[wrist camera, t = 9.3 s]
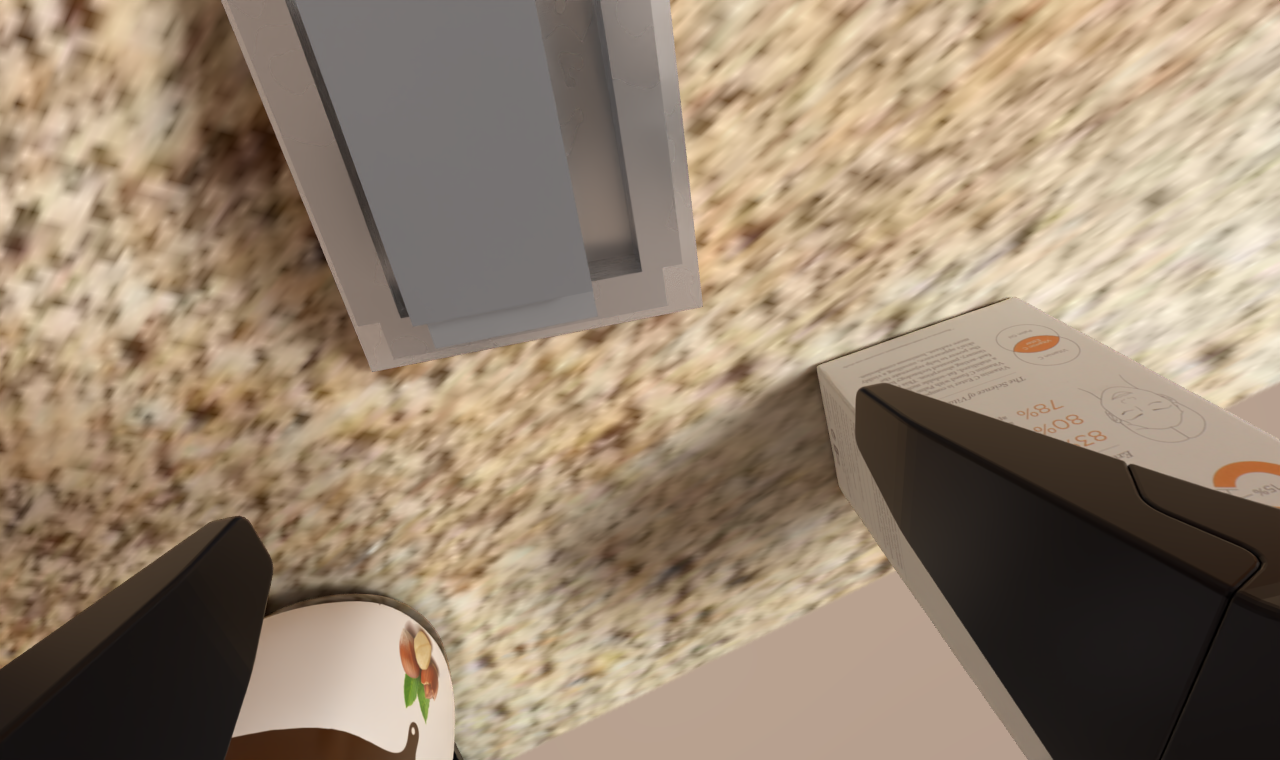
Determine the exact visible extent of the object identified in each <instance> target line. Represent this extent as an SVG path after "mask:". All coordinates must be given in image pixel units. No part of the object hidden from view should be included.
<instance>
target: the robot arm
mask: <svg viewBox="0 0 1280 760" xmlns="http://www.w3.org/2000/svg"><path fill="white" fill-rule="evenodd" d="M855 439H856V443H857V446H858V449H859V451H860V453H861V455H862V457H863V459H864V461H865V463H866V465H867V467H868V469H869V471H870V473H871V475H872V477H873V479H874V481H875V483H876V484H877V486H878V488H879V490H880V492H881V494H882V496H883V498H884V500H885V502H886V504H887V506H888V508H889V510H890V512H891V514H892V516H893V518H894V520H895V521H896V523H897V525H898V527H899V529H900V531H901V532H902V534H903V535H904V537H905V539H906V540H907V542H908V543H909V545H910V546H911V548H912V549H913V551H914V552H915V554H916V555H917V557H918V558H919V560H920V561H921V563H922V564H923V566H924V567H925V569H926V570H927V572H928V573H929V575H930V576H931V578H932V579H933V581H934V582H935V584H936V585H937V587H938V588H939V590H940V591H941V593H942V594H943V596H944V597H945V599H946V600H947V602H948V603H949V605H950V606H951V608H952V609H953V611H954V612H955V614H956V615H957V617H958V618H959V620H960V621H961V623H962V624H963V626H964V627H965V629H966V630H967V632H968V633H969V635H970V636H971V638H972V639H973V641H974V642H975V644H976V645H977V647H978V648H979V650H980V651H981V653H982V654H983V656H984V657H985V659H986V660H987V662H988V663H989V665H990V666H991V668H992V669H993V671H994V672H995V674H996V675H997V677H998V678H999V680H1000V681H1001V683H1002V684H1003V686H1004V687H1005V689H1006V690H1007V692H1008V693H1009V695H1010V696H1011V698H1012V699H1013V701H1014V702H1015V704H1016V705H1017V707H1018V708H1019V710H1020V711H1021V713H1022V714H1023V716H1024V717H1025V719H1026V720H1027V722H1028V723H1029V725H1030V726H1031V728H1032V729H1033V731H1034V732H1035V734H1036V735H1037V737H1038V738H1039V740H1040V741H1041V743H1042V744H1043V746H1044V747H1045V749H1046V750H1047V752H1048V753H1049V755H1050V756H1051V758H1052V759H1053V760H1280V508H1277V507H1273V506H1270V505H1266V504H1263V503H1259V502H1256V501H1252V500H1249V499H1245V498H1242V497H1238V496H1235V495H1231V494H1228V493H1224V492H1221V491H1217V490H1214V489H1210V488H1207V487H1204V486H1201V485H1198V484H1194V483H1191V482H1188V481H1185V480H1182V479H1179V478H1175V477H1172V476H1169V475H1166V474H1163V473H1160V472H1157V471H1154V470H1151V469H1148V468H1145V467H1142V466H1139V465H1136V464H1129V465H1128V466H1127V464H1126V462H1125V461H1123V460H1120V459H1117V458H1114V457H1111V456H1108V455H1105V454H1102V453H1099V452H1096V451H1093V450H1090V449H1087V448H1083V447H1080V446H1077V445H1074V444H1071V443H1068V442H1065V441H1062V440H1059V439H1056V438H1053V437H1050V436H1047V435H1044V434H1041V433H1038V432H1035V431H1032V430H1029V429H1026V428H1023V427H1020V426H1017V425H1014V424H1010V423H1007V422H1004V421H1001V420H998V419H995V418H992V417H989V416H986V415H983V414H980V413H977V412H974V411H971V410H968V409H965V408H962V407H959V406H956V405H953V404H950V403H947V402H944V401H941V400H938V399H934V398H931V397H928V396H925V395H922V394H919V393H916V392H913V391H910V390H907V389H904V388H901V387H898V386H895V385H892V384H889V383H878V384H873V385H868V386H864V387H861V388H859V390H858V391H857V393H856V399H855ZM272 575H273V564H272V560H271V557H270V555H269V553H268V552H267V550H266V548H265V546H264V545H263V543H262V541H261V540H260V538H259V536H258V535H257V533H256V531H255V530H254V528H253V526H252V524H251V523H250V522H249V520H247V519H246V518H244V517H241V516H235V517H230V518H225V519H220V520H216V521H212V522H210V523H208V524H207V525H205V526H204V527H202V528H201V529H199V530H198V531H197V532H195V533H194V534H192V535H191V536H189V537H188V538H187V539H185V540H184V541H182V542H181V543H179V544H178V545H177V546H175V547H174V548H172V549H171V550H170V551H168V552H167V553H165V554H164V555H162V556H161V557H160V558H158V559H157V560H155V561H154V562H152V563H151V564H150V565H148V566H147V567H145V568H144V569H142V570H141V571H140V572H138V573H137V574H135V575H134V576H133V577H131V578H130V579H128V580H127V581H125V582H124V583H123V584H121V585H120V586H118V587H117V588H115V589H114V590H113V591H111V592H110V593H108V594H107V595H105V596H104V597H103V598H101V599H100V600H98V601H97V602H96V603H94V604H93V605H91V606H90V607H88V608H87V609H86V610H84V611H83V612H81V613H80V614H78V615H77V616H76V617H74V618H73V619H71V620H70V621H68V622H67V623H66V624H64V625H63V626H61V627H60V628H59V629H57V630H56V631H54V632H53V633H51V634H50V635H49V636H47V637H46V638H44V639H43V640H41V641H40V642H39V643H37V644H36V645H34V646H33V647H32V648H30V649H29V650H27V651H26V652H24V653H23V654H22V655H20V656H19V657H17V658H16V659H14V660H13V661H12V662H10V663H9V664H7V665H6V666H4V667H3V668H2V669H0V760H225V757H226V754H227V751H228V748H229V744H230V741H231V738H232V735H233V732H234V729H235V726H236V723H237V720H238V717H239V713H240V710H241V707H242V704H243V701H244V698H245V695H246V692H247V688H248V685H249V681H250V678H251V675H252V671H253V666H254V662H255V658H256V654H257V649H258V644H259V639H260V634H261V629H262V624H263V620H264V615H265V610H266V605H267V600H268V595H269V590H270V585H271V580H272ZM453 760H463V758H462V756H461V754H460V752H459V750H458V748H457V746H456V744H455V742H454V753H453Z"/></svg>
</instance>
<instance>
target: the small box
mask: <svg viewBox="0 0 1280 760" xmlns="http://www.w3.org/2000/svg"><path fill="white" fill-rule="evenodd" d="M817 374H818V379H819V385H820V389H821V394H822V400H823V405H824V410H825V415H826V420H827V425H828V430H829V436H830V440H831V446H832V451H833V456H834V462H835V467H836V473H837V478H838V484H839V488H840V489H841V491H842V493H843V494H844V495H845V497H846V499H847V500H848V501H849V503H850V504H851V505H852V507H853V509H854V510H855V512H856V513H857V514H858V516H859V517H860V519H861V520H862V522H863V523H864V524H865V526H866V527H867V529H868V530H869V532H870V533H871V535H872V536H873V538H874V539H875V541H876V542H877V544H878V545H879V547H880V548H881V550H882V551H883V553H884V554H885V555H886V557H887V558H888V560H889V561H890V563H891V564H892V566H893V567H894V569H895V570H896V571H897V573H898V574H899V575H900V577H901V578H902V580H903V581H904V583H905V584H906V585H907V587H908V588H909V590H910V591H911V593H912V594H913V596H914V597H915V599H916V600H917V601H918V603H919V604H920V606H921V607H922V608H923V610H924V611H925V613H926V614H927V615H928V617H929V618H930V620H931V621H932V623H933V624H934V626H935V627H936V628H937V630H938V631H939V633H940V634H941V636H942V638H943V639H944V640H945V642H946V643H947V644H948V646H949V647H950V649H951V650H952V652H953V653H954V655H955V656H956V658H957V659H958V661H959V662H960V663H961V665H962V666H963V668H964V669H965V671H966V672H967V673H968V675H969V676H970V678H971V679H972V680H973V682H974V683H975V684H976V686H977V687H978V689H979V690H980V692H981V693H982V695H983V696H984V698H985V699H986V700H987V702H988V703H989V705H990V706H991V708H992V709H993V711H994V712H995V713H996V715H997V716H998V717H999V719H1000V720H1001V722H1002V723H1003V724H1004V726H1005V727H1006V729H1007V730H1008V732H1009V733H1010V735H1011V736H1012V738H1013V739H1014V741H1015V742H1016V744H1017V745H1018V746H1019V748H1020V749H1021V751H1022V752H1023V754H1024V755H1025V756H1026V758H1027V759H1028V760H1053V759H1052V758H1051V756H1050V755H1049V753H1048V752H1047V750H1046V749H1045V747H1044V746H1043V744H1042V743H1041V741H1040V740H1039V738H1038V737H1037V735H1036V734H1035V732H1034V731H1033V729H1032V728H1031V726H1030V725H1029V723H1028V722H1027V720H1026V719H1025V717H1024V716H1023V714H1022V713H1021V711H1020V710H1019V708H1018V707H1017V705H1016V704H1015V702H1014V701H1013V699H1012V698H1011V696H1010V695H1009V693H1008V692H1007V690H1006V689H1005V687H1004V686H1003V684H1002V683H1001V681H1000V680H999V678H998V677H997V675H996V674H995V672H994V671H993V669H992V668H991V666H990V665H989V663H988V662H987V660H986V659H985V657H984V656H983V654H982V653H981V651H980V650H979V648H978V647H977V645H976V644H975V642H974V641H973V639H972V638H971V636H970V635H969V633H968V632H967V630H966V629H965V627H964V626H963V624H962V623H961V621H960V620H959V618H958V617H957V615H956V614H955V612H954V611H953V609H952V608H951V606H950V605H949V603H948V602H947V600H946V599H945V597H944V596H943V594H942V593H941V591H940V590H939V588H938V587H937V585H936V584H935V582H934V581H933V579H932V578H931V576H930V575H929V573H928V572H927V570H926V569H925V567H924V566H923V564H922V563H921V561H920V560H919V558H918V557H917V555H916V554H915V552H914V551H913V549H912V548H911V546H910V545H909V543H908V542H907V540H906V539H905V537H904V535H903V534H902V532H901V531H900V529H899V527H898V525H897V523H896V521H895V520H894V518H893V516H892V514H891V512H890V510H889V508H888V506H887V504H886V502H885V500H884V498H883V496H882V494H881V492H880V490H879V488H878V486H877V484H876V483H875V481H874V479H873V477H872V475H871V473H870V471H869V469H868V467H867V465H866V463H865V461H864V459H863V457H862V455H861V453H860V451H859V449H858V446H857V443H856V439H855V399H856V393H857V391H858V390H859V388H861V387H864V386H868V385H873V384H878V383H889V384H892V385H895V386H898V387H901V388H904V389H907V390H910V391H913V392H916V393H919V394H922V395H925V396H928V397H931V398H934V399H938V400H941V401H944V402H947V403H950V404H953V405H956V406H959V407H962V408H965V409H968V410H971V411H974V412H977V413H980V414H983V415H986V416H989V417H992V418H995V419H998V420H1001V421H1004V422H1007V423H1010V424H1014V425H1017V426H1020V427H1023V428H1026V429H1029V430H1032V431H1035V432H1038V433H1041V434H1044V435H1047V436H1050V437H1053V438H1056V439H1059V440H1062V441H1065V442H1068V443H1071V444H1074V445H1077V446H1080V447H1083V448H1087V449H1090V450H1093V451H1096V452H1099V453H1102V454H1105V455H1108V456H1111V457H1114V458H1117V459H1120V460H1123V461H1125V462H1126V464H1127V466H1128V465H1129V464H1136V465H1139V466H1142V467H1145V468H1148V469H1151V470H1154V471H1157V472H1160V473H1163V474H1166V475H1169V476H1172V477H1175V478H1179V479H1182V480H1185V481H1188V482H1191V483H1194V484H1198V485H1201V486H1204V487H1207V488H1210V489H1214V490H1217V491H1221V492H1224V493H1228V494H1231V495H1235V496H1238V497H1242V498H1245V499H1249V500H1252V501H1256V502H1259V503H1263V504H1266V505H1270V506H1273V507H1277V508H1280V440H1279V439H1278V438H1276V437H1274V436H1272V435H1270V434H1268V433H1267V432H1265V431H1263V430H1261V429H1259V428H1258V427H1256V426H1254V425H1252V424H1250V423H1248V422H1247V421H1245V420H1243V419H1241V418H1239V417H1237V416H1236V415H1234V414H1232V413H1230V412H1228V411H1226V410H1225V409H1223V408H1221V407H1219V406H1217V405H1215V404H1213V403H1211V402H1210V401H1208V400H1206V399H1204V398H1202V397H1200V396H1199V395H1197V394H1195V393H1193V392H1191V391H1189V390H1187V389H1185V388H1184V387H1182V386H1180V385H1178V384H1176V383H1174V382H1172V381H1171V380H1169V379H1167V378H1165V377H1163V376H1161V375H1160V374H1158V373H1156V372H1154V371H1152V370H1150V369H1149V368H1147V367H1145V366H1143V365H1141V364H1139V363H1138V362H1136V361H1134V360H1132V359H1130V358H1128V357H1127V356H1125V355H1123V354H1121V353H1119V352H1117V351H1115V350H1113V349H1112V348H1110V347H1108V346H1106V345H1104V344H1102V343H1101V342H1099V341H1097V340H1095V339H1093V338H1091V337H1089V336H1088V335H1086V334H1084V333H1082V332H1080V331H1078V330H1076V329H1075V328H1073V327H1071V326H1069V325H1067V324H1065V323H1064V322H1062V321H1060V320H1058V319H1056V318H1054V317H1052V316H1051V315H1049V314H1047V313H1045V312H1043V311H1041V310H1039V309H1038V308H1036V307H1034V306H1032V305H1030V304H1028V303H1027V302H1025V301H1023V300H1021V299H1019V298H1017V297H1012V298H1009V299H1006V300H1004V301H1001V302H998V303H996V304H993V305H990V306H987V307H984V308H981V309H978V310H975V311H972V312H969V313H966V314H963V315H961V316H958V317H955V318H952V319H949V320H946V321H943V322H940V323H938V324H935V325H932V326H929V327H926V328H923V329H920V330H917V331H914V332H911V333H909V334H906V335H903V336H900V337H897V338H894V339H892V340H889V341H886V342H883V343H880V344H878V345H875V346H872V347H869V348H866V349H863V350H861V351H858V352H855V353H852V354H849V355H846V356H843V357H840V358H838V359H835V360H832V361H829V362H826V363H823V364H820V365H818V366H817Z"/></svg>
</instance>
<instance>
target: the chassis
mask: <svg viewBox="0 0 1280 760" xmlns="http://www.w3.org/2000/svg"><path fill="white" fill-rule="evenodd" d="M221 2H222V4H223V6H224V9H225V11H226V14H227V16H228V19H229V21H230V24H231V26H232V29H233V31H234V34H235V36H236V38H237V41H238V43H239V46H240V48H241V51H242V53H243V56H244V58H245V61H246V63H247V66H248V68H249V70H250V73H251V75H252V78H253V80H254V83H255V85H256V88H257V90H258V93H259V95H260V98H261V100H262V102H263V105H264V107H265V110H266V112H267V115H268V117H269V120H270V122H271V125H272V127H273V130H274V132H275V134H276V137H277V139H278V142H279V144H280V147H281V149H282V152H283V154H284V157H285V159H286V162H287V164H288V166H289V169H290V171H291V174H292V176H293V179H294V181H295V184H296V186H297V189H298V191H299V194H300V196H301V198H302V201H303V203H304V206H305V208H306V211H307V213H308V216H309V218H310V221H311V223H312V226H313V228H314V230H315V233H316V235H317V238H318V240H319V243H320V245H321V248H322V250H323V253H324V255H325V258H326V260H327V262H328V265H329V267H330V270H331V272H332V275H333V277H334V280H335V282H336V285H337V287H338V290H339V292H340V294H341V297H342V299H343V302H344V304H345V307H346V309H347V312H348V314H349V317H350V319H351V322H352V324H353V326H354V329H355V331H356V334H357V336H358V339H359V341H360V344H361V346H362V349H363V351H364V354H365V356H366V358H367V361H368V363H369V366H370V368H371V371H372V372H375V371H380V370H385V369H390V368H395V367H400V366H405V365H410V364H415V363H420V362H425V361H430V360H435V359H441V358H446V357H451V356H456V355H461V354H466V353H471V352H476V351H481V350H486V349H491V348H496V347H501V346H506V345H512V344H517V343H522V342H527V341H532V340H537V339H542V338H547V337H552V336H557V335H562V334H567V333H572V332H577V331H583V330H588V329H593V328H598V327H603V326H608V325H613V324H618V323H623V322H628V321H633V320H638V319H643V318H648V317H654V316H659V315H664V314H669V313H674V312H679V311H684V310H689V309H694V308H699V307H703V304H702V295H701V285H700V276H699V267H698V258H697V249H696V239H695V230H694V221H693V212H692V202H691V193H690V184H689V175H688V165H687V156H686V147H685V138H684V129H683V119H682V110H681V101H680V92H679V82H678V73H677V64H676V55H675V45H674V36H673V27H672V18H671V8H670V0H535V5H536V10H537V15H538V20H539V25H540V30H541V35H542V40H543V45H544V50H545V55H546V59H547V64H548V69H549V74H550V79H551V84H552V89H553V94H554V99H555V104H556V109H557V114H558V119H559V124H560V129H561V134H562V139H563V144H564V149H565V154H566V159H567V163H568V168H569V173H570V178H571V183H572V188H573V193H574V198H575V203H576V208H577V213H578V218H579V223H580V228H581V233H582V238H583V243H584V248H585V253H586V258H587V263H588V267H589V272H590V277H591V282H592V287H593V294H594V299H595V304H596V309H597V314H598V317H593V318H588V319H583V320H578V321H573V322H568V323H563V324H558V325H553V326H548V327H543V328H538V329H533V330H528V331H523V332H518V333H513V334H508V335H503V336H498V337H493V338H488V339H483V340H478V341H473V342H468V343H463V344H458V345H453V346H448V347H443V348H438V349H436V348H435V346H434V343H433V340H432V337H431V334H430V331H429V328H428V325H427V324H425V325H420V326H415V327H413V326H412V323H411V320H410V317H409V315H408V312H407V309H406V306H405V303H404V301H403V298H402V295H401V292H400V290H399V287H398V284H397V281H396V279H395V276H394V273H393V270H392V267H391V265H390V262H389V259H388V256H387V254H386V251H385V248H384V245H383V243H382V240H381V237H380V234H379V231H378V229H377V226H376V223H375V220H374V218H373V215H372V212H371V209H370V207H369V204H368V201H367V198H366V195H365V193H364V190H363V187H362V184H361V182H360V179H359V176H358V173H357V171H356V168H355V165H354V162H353V159H352V157H351V154H350V151H349V148H348V146H347V143H346V140H345V137H344V135H343V132H342V129H341V126H340V124H339V121H338V118H337V115H336V112H335V110H334V107H333V104H332V101H331V99H330V96H329V93H328V90H327V88H326V85H325V82H324V79H323V76H322V74H321V71H320V68H319V65H318V63H317V60H316V57H315V54H314V52H313V49H312V46H311V43H310V40H309V38H308V35H307V32H306V29H305V27H304V24H303V21H302V18H301V16H300V13H299V10H298V7H297V4H296V2H295V0H221Z"/></svg>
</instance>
